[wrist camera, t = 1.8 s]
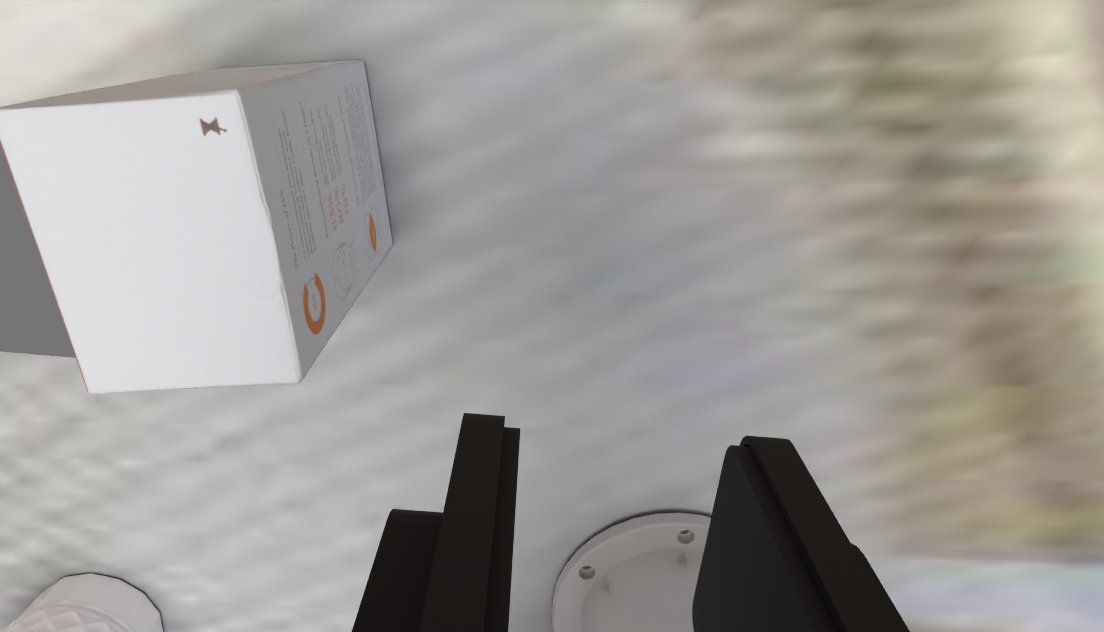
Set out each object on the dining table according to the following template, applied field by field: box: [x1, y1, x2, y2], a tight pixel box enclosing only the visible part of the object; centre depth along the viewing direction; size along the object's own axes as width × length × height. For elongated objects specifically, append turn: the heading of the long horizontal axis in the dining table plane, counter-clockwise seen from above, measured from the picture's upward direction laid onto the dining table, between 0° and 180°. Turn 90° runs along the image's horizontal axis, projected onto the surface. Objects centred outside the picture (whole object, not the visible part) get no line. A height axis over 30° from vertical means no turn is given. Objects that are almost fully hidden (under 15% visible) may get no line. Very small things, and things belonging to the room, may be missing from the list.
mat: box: [0, 144, 76, 358], centre depth 32 cm, size 11×10×1 cm
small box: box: [0, 60, 393, 394], centre depth 25 cm, size 8×6×13 cm
